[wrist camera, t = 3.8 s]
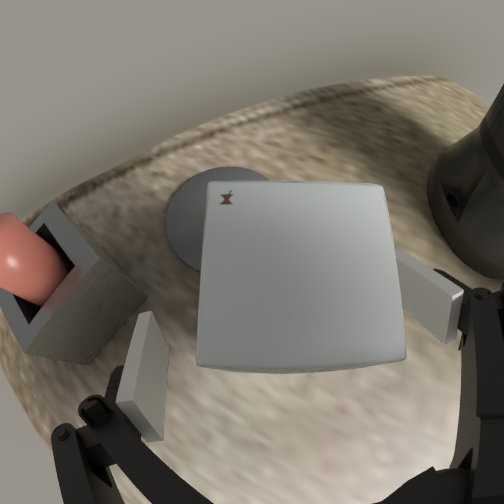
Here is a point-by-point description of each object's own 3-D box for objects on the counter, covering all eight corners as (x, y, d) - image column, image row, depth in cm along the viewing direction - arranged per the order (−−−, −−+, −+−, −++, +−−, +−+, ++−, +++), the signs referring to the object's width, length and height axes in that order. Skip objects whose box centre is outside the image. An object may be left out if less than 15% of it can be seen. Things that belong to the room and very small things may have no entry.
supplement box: (229, 373, 20) (184, 368, 9) (234, 276, 23) (204, 173, 12) (332, 373, 20) (411, 364, 8) (329, 277, 23) (384, 178, 11)
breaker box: (99, 245, 25) (52, 198, 18) (147, 295, 23) (100, 257, 16) (47, 307, 23) (-12, 278, 15) (88, 365, 21) (24, 352, 13)
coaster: (222, 157, 28) (220, 150, 27) (308, 211, 25) (310, 205, 24) (146, 229, 25) (142, 224, 24) (231, 302, 22) (230, 298, 22)
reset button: (62, 247, 19) (7, 200, 13) (88, 281, 18) (26, 237, 12) (31, 286, 18) (-29, 250, 12) (54, 323, 17) (-15, 293, 11)
